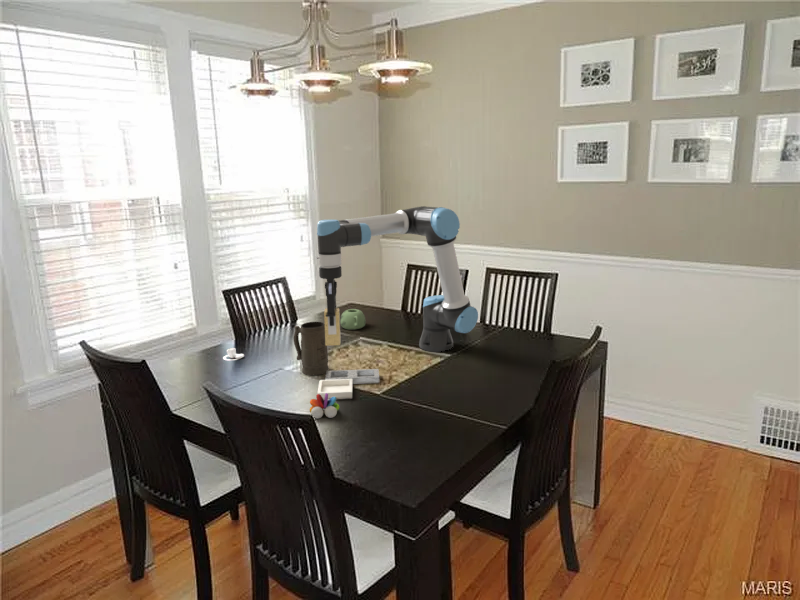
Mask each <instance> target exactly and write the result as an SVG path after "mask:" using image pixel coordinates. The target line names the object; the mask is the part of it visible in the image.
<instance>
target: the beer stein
mask: <svg viewBox="0 0 800 600" xmlns="http://www.w3.org/2000/svg"><path fill="white" fill-rule="evenodd" d="M299 335H300V338H301V339H300V338H299ZM292 340H293V344H294V347H295V348H294V349H295V350H296V354H297V356H296V361H301V365H302V367H301V372H302V374H303V375H306V376H319V375H320V376H321V375H324V374H326V371H329V364H328V363H329V353H328V346H326V344H325V322H322V321H309V322H305V323H302V324H301V325H300V326H299V325H295V326H294V333H293V339H292Z"/></svg>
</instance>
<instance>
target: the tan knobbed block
mask: <svg viewBox="0 0 800 600" xmlns="http://www.w3.org/2000/svg"><path fill="white" fill-rule="evenodd" d="M323 314H324V315H323V316H324V319H323V321H324V324H325V344H326V346H327V347H328V346H329V347H330V346H341V339H342V338H341V323H340V320H341V315H340V308H339V307H336V308H335V314H336V315H335V316H336V334H332V335H328V317H326V315H327V307H326V308H324V312H323Z"/></svg>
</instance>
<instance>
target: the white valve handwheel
mask: <svg viewBox="0 0 800 600" xmlns="http://www.w3.org/2000/svg"><path fill="white" fill-rule="evenodd" d="M227 357H229V358H230V359H232V361H237V360H240V359H242V358H244V357H245V354H244V353H237V351H236V348H235V347H230V348H228V349H226V355H225V356H223V357H222V359H223V360H225V361H230V359H227Z"/></svg>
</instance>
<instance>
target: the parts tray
mask: <svg viewBox="0 0 800 600" xmlns="http://www.w3.org/2000/svg"><path fill="white" fill-rule="evenodd" d="M353 385H354V384H353V383H352V379H333V380H325V379H319V382H318V386H317V388H318V389H317V393H316V395H317V394H320V395H321V396H322V398H323V400H324V398H325V393H328V399H330V398H332V397H336V400H348V399H349V400H351V399H353Z"/></svg>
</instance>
